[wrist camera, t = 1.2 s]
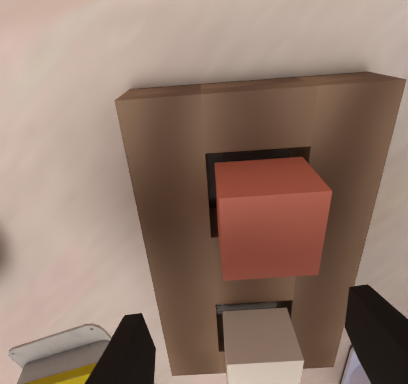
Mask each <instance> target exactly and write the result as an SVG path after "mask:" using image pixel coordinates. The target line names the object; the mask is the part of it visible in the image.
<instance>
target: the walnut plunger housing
mask: <svg viewBox="0 0 408 384" xmlns="http://www.w3.org/2000/svg"><path fill="white" fill-rule="evenodd" d="M405 83H406V79H402V78H397V77H391V76H386V75H381V74H376V73H371V72H359V73H346V74H332V75H318V76H305V77H291V78H277V79H264V80H250V81H237V82H223V83H209V84H196V85H182V86H168V87H155V88H141V89H130V90H128V91H127V92H126V93H124V94H123V95H122V96H120V97H119V98H118V99H116V100H115V105H116V110H117V114H118V119H119V124H120V129H121V133H122V138H123V143H124V148H125V153H126V157H127V162H128V167H129V172H130V176H131V181H132V186H133V191H134V196H135V200H136V205H137V210H138V215H139V219H140V224H141V229H142V234H143V239H144V243H145V248H146V253H147V258H148V262H149V267H150V272H151V277H152V282H153V286H154V291H155V296H156V301H157V305H158V310H159V315H160V320H161V325H162V329H163V334H164V339H165V344H166V348H167V353H168V358H169V363H170V368H171V372H172V376H179V375H197V374H215V373H226V363H225V350H224V332H223V315H216V305H220V304H237V303H253V302H270V301H278V305H277V308H287V310H288V313H289V316H290V319H291V322H292V325H293V328H294V331H295V334H296V337H297V340H298V343H299V347H300V350H301V353H302V356H303V359H304V364H303V369H305V368H323V367H334V363H335V359H336V355H337V351H338V347H339V343H340V339H341V335H342V331H343V327H344V323H345V319H346V311H347V302H348V293H349V287H353V286H354V284H355V280H356V276H357V272H358V268H359V264H360V260H361V256H362V252H363V248H364V244H365V240H366V237H367V233H368V229H369V225H370V221H371V217H372V213H373V209H374V205H375V201H376V197H377V193H378V189H379V185H380V181H381V177H382V173H383V169H384V166H385V162H386V158H387V154H388V150H389V146H390V142H391V138H392V134H393V130H394V126H395V122H396V118H397V114H398V110H399V106H400V102H401V98H402V95H403V91H404V87H405ZM279 148H290V155H289V158H292V157H303V158H304V159H305V160H306V161H307V163H308V164H309V165H310V166H311V167H312V168H313V169H314V171H315V172H316V173H317V174H318V175H319V176H320V177H321V179H322V180H323V181H324V182H325V183H326V184H327V185H328V187H329V188H330V189H331V190H332V196H331V202H330V208H329V214H328V220H327V226H326V232H325V238H324V244H323V250H322V256H321V262H320V268H319V274H318V275H310V276H293V277H277V278H261V279H244V280H228V281H223V276H222V266H221V256H220V246H219V236H218V219H217V208H209V199H208V184H207V170H206V155H205V154H207V153H221V152H236V151H250V150H265V149H279Z"/></svg>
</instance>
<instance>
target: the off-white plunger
mask: <svg viewBox="0 0 408 384" xmlns="http://www.w3.org/2000/svg"><path fill="white" fill-rule="evenodd" d="M222 313H223V332H224V350H225V363H226V375H227V384H300V382H301V376H302V370H303V364H304V359H303V356H302V353H301V350H300V347H299V343H298V340H297V337H296V334H295V331H294V328H293V325H292V322H291V319H290V316H289V313H288V310H287V308H272V309H255V310H238V311H222Z"/></svg>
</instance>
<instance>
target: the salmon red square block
mask: <svg viewBox="0 0 408 384" xmlns="http://www.w3.org/2000/svg"><path fill="white" fill-rule="evenodd" d="M215 181H216V200H217V219H218V236H219V246H220V256H221V266H222V276H223V281H228V280H244V279H261V278H277V277H293V276H310V275H318V274H319V268H320V262H321V256H322V250H323V244H324V238H325V232H326V226H327V220H328V214H329V208H330V202H331V196H332V190H331V189H330V188H329V187H328V185H327V184H326V183H325V182H324V181H323V180H322V179H321V177H320V176H319V175H318V174H317V173H316V172H315V171H314V169H313V168H312V167H311V166H310V165H309V164H308V163H307V161H306V160H305V159H304V158H303V157H292V158H277V159H263V160H248V161H233V162H219V163H215Z"/></svg>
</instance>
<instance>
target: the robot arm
mask: <svg viewBox="0 0 408 384" xmlns="http://www.w3.org/2000/svg"><path fill="white" fill-rule="evenodd" d="M345 328H346V331H347V333H348V336H349V338H350V341H351V343H352V346H353V347H352V348H351V351H350V354H349V358H348V361H347V365H346V368H345V371H344V375H343V378H342V382H341V384H408V319H407V318H406V317H405V316H404V315H402V314H401V313H400V312H399V311H398V310H397V309H395V308H394V307H393V306H392V305H391V304H390V303H389V302H387V301H386V300H385V299H384V298H383V297H382V296H381V295H379V294H378V293H377V292H376V291H375V290H374V289H373V288H371V287H370V286H369V285H361V286H353V287H349V293H348V302H347V311H346V320H345ZM155 352H156V348H155V346H154V343H153V340H152V338H151V335H150V333H149V330H148V328H147V325H146V323H145V320H144V318H143V315H142V313H139V314H131V315H125V316H124V317H123V319H122V320H121V322H120V324H119V326H118V328H117V329H116V331H115V333H114V335H113V336H112V338H111V340H110V342H109V343H108V345H107V347H106V349H105V350H104V352H103V354H102V356H101V357H100V359H99V361H98V362H97V364H96V365H95V367H94V369H93V370H92V372H91V374H90V375H89V377H88V379H87V380H86V382H85V383H84V384H153V383H154V371H155Z"/></svg>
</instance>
